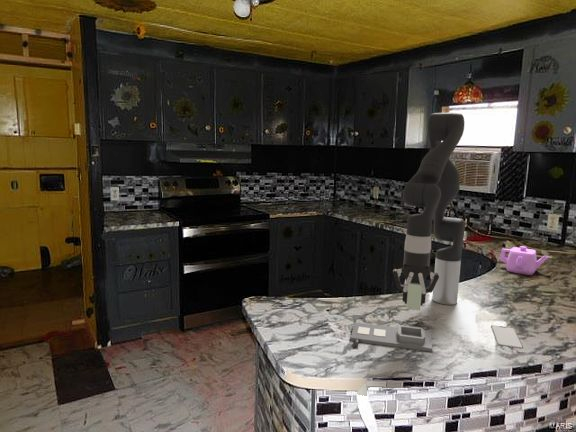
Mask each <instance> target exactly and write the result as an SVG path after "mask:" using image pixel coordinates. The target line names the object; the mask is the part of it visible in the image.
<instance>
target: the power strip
mask: <svg viewBox="0 0 576 432" xmlns="http://www.w3.org/2000/svg"><path fill="white" fill-rule="evenodd" d="M353 323H354V324H353V328H352V331H351V335H350V341H351V342H354V344H353V346H354V348H358V347H359V343H365V344H374V345H381V346H387V347H388V346H389V347H395V348H396V347H397V348H403V349H409V350H417V351H424V352H431V353H432V352H433V343H432V338H431V332H430V331H425V328H424V329H423V327H418V326H410V325H409V326H408V325H400V324H399V325H398V326H397V327H394V326H387V325H386V326H385V325H379V324H371V323H362V322H353Z"/></svg>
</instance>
